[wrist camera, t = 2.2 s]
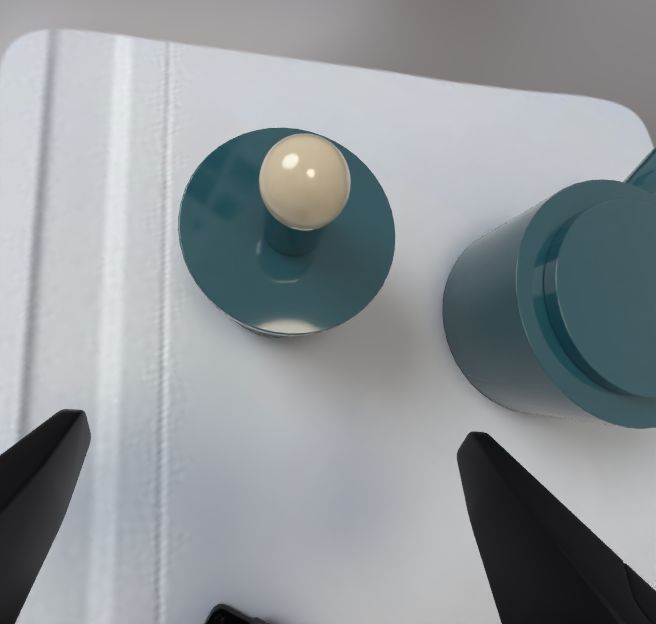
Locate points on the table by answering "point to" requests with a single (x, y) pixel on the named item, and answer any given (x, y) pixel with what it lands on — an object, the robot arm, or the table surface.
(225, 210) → the teapot lid
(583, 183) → the teapot
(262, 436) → the table surface
